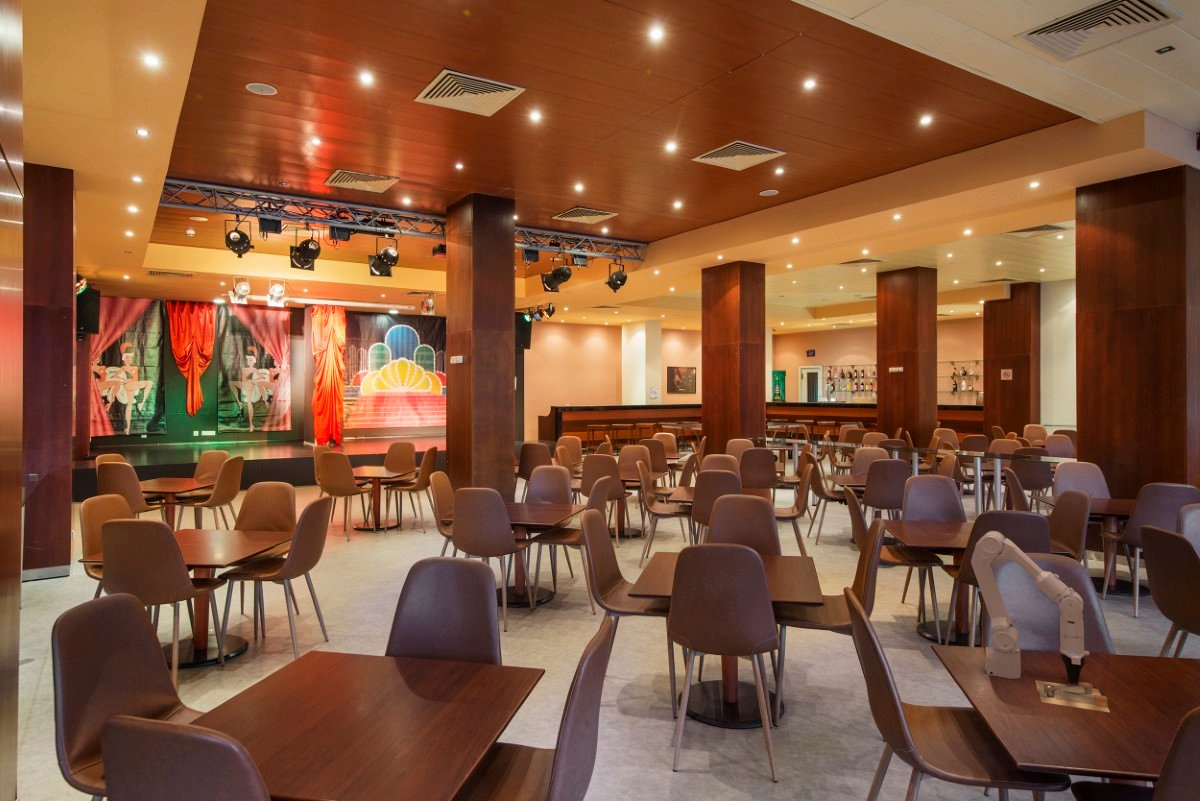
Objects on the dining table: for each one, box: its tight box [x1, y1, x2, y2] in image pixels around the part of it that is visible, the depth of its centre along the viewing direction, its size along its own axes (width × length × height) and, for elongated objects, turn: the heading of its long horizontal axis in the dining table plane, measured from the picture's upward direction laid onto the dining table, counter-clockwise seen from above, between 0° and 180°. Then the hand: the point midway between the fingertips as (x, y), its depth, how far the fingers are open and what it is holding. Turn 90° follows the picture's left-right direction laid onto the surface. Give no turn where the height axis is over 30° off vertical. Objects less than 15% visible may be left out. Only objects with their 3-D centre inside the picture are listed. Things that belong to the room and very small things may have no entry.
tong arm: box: [1053, 681, 1094, 694], centre depth 197 cm, size 12×2×2 cm, turn 93°
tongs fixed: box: [1037, 684, 1109, 708], centre depth 193 cm, size 15×4×3 cm, turn 63°
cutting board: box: [1035, 679, 1111, 713], centre depth 196 cm, size 15×18×1 cm
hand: (1073, 682), depth 202 cm, fingers closed
